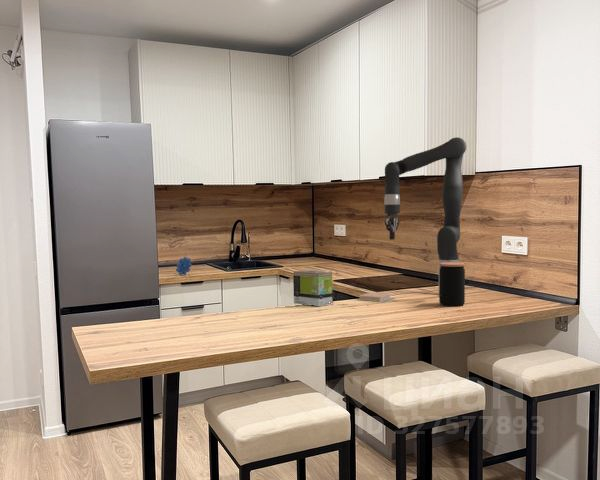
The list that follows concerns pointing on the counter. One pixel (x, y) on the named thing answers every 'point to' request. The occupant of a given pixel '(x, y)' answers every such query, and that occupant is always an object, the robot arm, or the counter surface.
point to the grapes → (183, 266)
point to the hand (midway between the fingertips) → (392, 239)
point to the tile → (374, 297)
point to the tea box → (312, 287)
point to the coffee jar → (452, 284)
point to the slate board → (381, 301)
